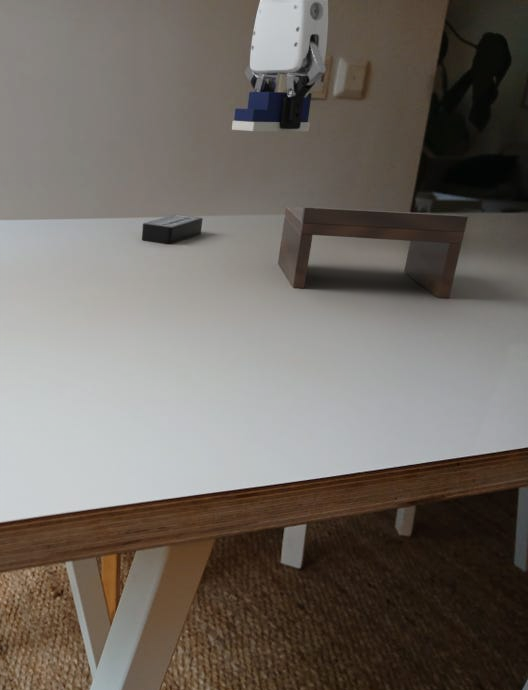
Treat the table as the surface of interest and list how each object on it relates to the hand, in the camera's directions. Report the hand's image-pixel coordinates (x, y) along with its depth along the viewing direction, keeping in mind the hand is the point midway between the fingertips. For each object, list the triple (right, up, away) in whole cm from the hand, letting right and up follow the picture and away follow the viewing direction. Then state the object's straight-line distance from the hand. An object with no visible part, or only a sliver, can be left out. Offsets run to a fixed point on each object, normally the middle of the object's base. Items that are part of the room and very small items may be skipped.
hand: (276, 126), depth 103 cm
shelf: (+4, -23, -18) cm, 30 cm away
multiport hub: (-14, -15, +3) cm, 21 cm away
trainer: (-1, -1, 0) cm, 1 cm away
